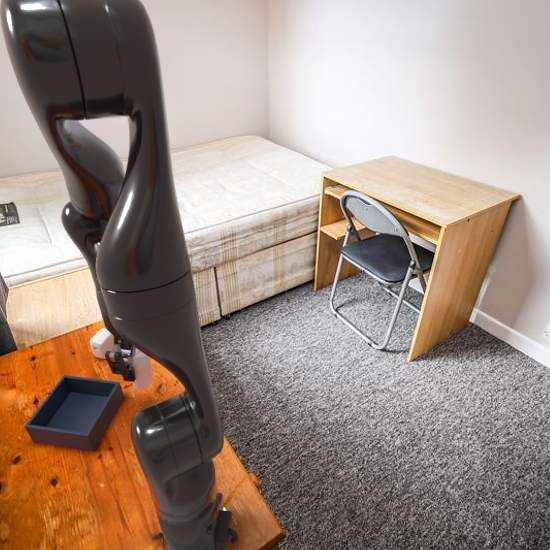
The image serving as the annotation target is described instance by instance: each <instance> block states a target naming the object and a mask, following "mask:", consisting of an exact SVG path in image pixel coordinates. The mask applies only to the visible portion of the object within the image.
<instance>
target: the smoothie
mask: <svg viewBox="0 0 550 550" xmlns="http://www.w3.org/2000/svg"><path fill="white" fill-rule="evenodd" d="M121 350H122V352H127V353H130V351H131V350H123V349H121ZM123 359H124V361H125V363H128V359H126V358H123ZM151 360H152V359H151V358H150V357H149V356H147V355H146V354H144V353H143V352H141V351H140V350H138V349H137V348H136V356H135V357H134V358H133V368H134V372H135V375H136V380H135V381H134V382H131V384H132V387H133V388H134V389H135V390H137V391H143V390H146V389H148V388H149V387H150V386H151V384H152V365H151Z"/></svg>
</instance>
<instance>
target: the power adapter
mask: <svg viewBox="0 0 550 550" xmlns="http://www.w3.org/2000/svg"><path fill="white" fill-rule="evenodd" d="M89 347H90V349H91V352H92V354H93V356H94V357H95V358H98V359H102V360H106V357H105V353H106V351H112V349H113V348H114V336H113V335H112V334H111V333H110V332H109V331H108V330H107V329H106V327H101V328H100V329H99V330H98V331H97V332H96V333H95V334H94V335H93V336H92V337H91V338H90V340H89Z"/></svg>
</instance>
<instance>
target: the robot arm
mask: <svg viewBox="0 0 550 550" xmlns="http://www.w3.org/2000/svg"><path fill="white" fill-rule="evenodd" d="M0 25H1V30H2V35H3V39H4V44H5V48H6V52H7V54H8V58H9V61H10V65H11V67H12V70H13V73H14V76H15V78H16V81H17V84H18V86H19V89H20V91H21V93H22V96H23V98H24V100H25V103H26V104H27V106H28V109H29V110H30V113H31V115H32V117H33V119H34V121H35V123H36V125H37V126H38V129H39V130H40V134H41V135H42V136H43V138H44V140H45V143H46V144H47V146H48V148H49V150H50V152H51V154H52V155H53V157H54V158H55V160H56V162H57V164H58V166H59V168H60V170H61V172H62V175H63V177H64V178H63V179H64V182H65V186H66V190H67V193H68V198H69V200H70V201H68V202H66V203H65V205H64V206H63V208H62V210H61V214H60V221H61V224H62V227H63V228H64V231H65V233H66V235H67V236H68V237H69V238H70V240H71V241H72V242H73V244H74V245H75V247H76V248H77V250H78V251H79V252H80V253H81V255H82V257H83V258H84V260H85V262H86V264H87V266H88V269H89V271H90V274H91V277H92V278H91V279H92V280H93V281H92V283H93V285H94V288H95V296H96V300H97V305H98V307H99V311H100V314H101V318H102V321H103V324H104V328H106V329H107V330H108V331H109V332H110V333H111V334H112V335H113V336H114V348H113V349H112V351H106V353H105V357H106V359H105V360H106V362H107V365H108V366H109V370H110V372H111V374H113V375H118V376H119V375H120V376H122V380H123V381H124V382H129V383H132V382H134V381H135V380H136V375H135V372H134V368H133V358H134V357H135V356H136V348H137V349H138V350H140V351H141V352H143V353H144V354H146V355H147V356H149V357H150V359H151V360H153V361H154V362H156V363H158V364H159V365H160V366H162V367H163V368H165V370H167V371H168V372H169V373H170V374H172V375H173V376H174V377H175V378H176V379H177V380H178V382H179V383H180V384H181V385H182V387H183V388H184V391H182V392H181V393H178V394H176V395H174V396H171V397H169V398H166V399H163V400H161V401H159V402H157V403H154V404H151V405H149V406H146V407H144V408H142V409H140V410H138V411H136V412H135V413H134V414H133V416H132V419H131V422H130V438H131V444H132V448H133V451H134V454H135V457H136V459H137V463H138V464H139V467H140V469H141V471H142V474H143V475H144V478H145V480H146V483H147V486H148V490H149V495H150V498H151V501H152V505H153V507H154V511H155V514H156V517H157V521H158V524H159V527H160V530H161V533H162V534H161V535H162V545H163V548H164V549H165V550H227V545H228V540H229V536H231V539H230V542H231V544H235V543H236V542H237V540H238V539H239V535H238V533H237V532H236V531H235V530H234V529H232V527H231V526H232V520H233V515H232V513H233V512H232V511H230V510H227V509H226V508H225V504H224V495H223V493H222V492H218V483H217V473H216V466H215V463H214V459H215V458H216V457H218V456H219V455H220V454H221V452H222V451H223V449H224V444H225V435H224V433H225V432H224V427H223V421H222V417H221V412H220V408H219V405H218V401H217V397H216V393H215V389H214V386H213V382H212V378H211V374H210V371H209V366H208V362H207V357H206V353H205V347H204V341H203V340H204V339H203V335H202V329H201V328H202V327H201V322H200V315H199V308H198V307H199V306H198V301H197V299H198V298H197V293H196V286H195V280H194V275H193V269H192V264H191V260H190V255H189V249H188V246H187V241H186V240H187V239H186V236H185V231H184V227H183V220H182V217H181V211H180V206H179V201H178V196H177V189H176V183H175V176H174V175H175V174H174V168H173V160H172V152H171V142H170V133H169V124H168V115H167V106H166V98H165V96H166V95H165V89H164V88H165V87H164V80H163V73H162V64H161V58H160V53H159V46H158V42H157V38H156V34H155V29H154V27H153V23H152V21H151V18H150V15H149V13H148V11H147V9H146V7H145V5H144V4H143V2H142V1H141V0H0ZM122 117H124V118H127V123H128V155H127V156H128V157H127V163H126V164H127V165H126V169H125V167H124V164H123V162H122V160H121V158H120V156H119V155H118V153H117V152H116V151H115V150H114V148H112V147H111V146H110V145H109V144H108V143H107V142H106V141H104V139H102V138H101V137H99V136H98V135H96V134H95V133H94V132H93V131H91V130H90V129H89V128H88V127H86V126H85V125H83V124H82V122H80V121H84V120H86V121H91V120H102V119H104V120H105V119H116V118H122ZM121 349H123V350H131V351H130V353H127V352H122V350H121ZM123 358H126V359H128V363H125V361H124V359H123ZM165 547H166V548H165Z"/></svg>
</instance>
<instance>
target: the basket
mask: <svg viewBox="0 0 550 550" xmlns="http://www.w3.org/2000/svg"><path fill="white" fill-rule="evenodd" d="M124 399H125V395H124V392H123V388H122V385H121V382H119V381H114V380H105V379H97V378H90V377H83V376H76V375H68V374H63V375H62V376H61V378H60V379H59V380H58V382H57V383H56V384H55V386H54V387H53V389H52V390H51V391H50V393H48V395H47V396H46V397H45V399H44V400H43V401H42V403H41V404H40V405H39V407H38V408H37V409H36V411H34V413H33V415H32V416H31V417H30V419H29V420H27V422H26V424H25V425H24V426H23V427H24V428H25V430H26V432H27V435H28V436H29V438H30V439H31V441H32V442H33V443H36V444H42V445H48V446H49V445H50V446H57V447H62V448H69V449H73V450H74V449H76V450H81V451H88V452H96V449H97V448H98V445H99V444H100V442H101V441H102V438H103V437H104V435H105V434H106V431H107V429H108V428H109V426H110V425H111V423H112V420H113V419H114V417H115V415H116V414H117V412H118V410H119V408H120V407H121V405H122V404H123V402H124Z"/></svg>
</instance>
